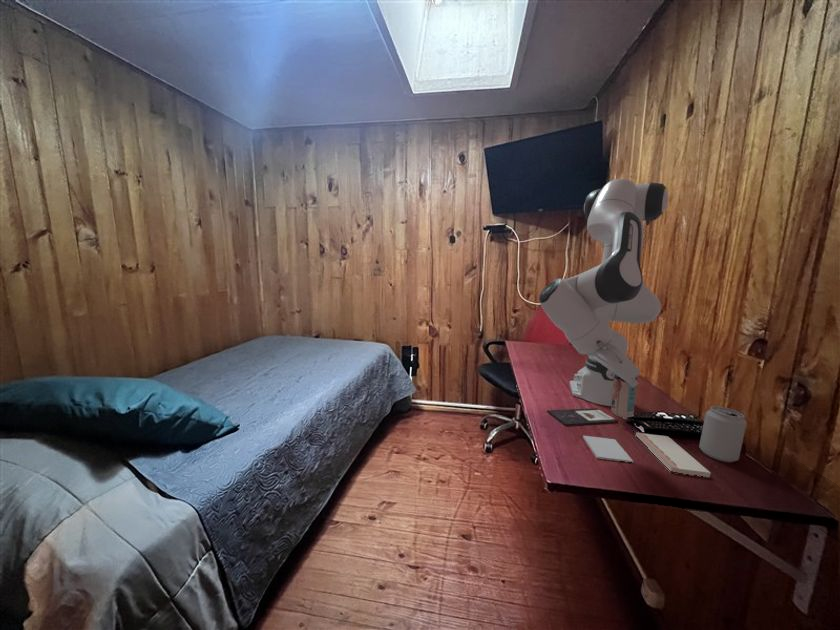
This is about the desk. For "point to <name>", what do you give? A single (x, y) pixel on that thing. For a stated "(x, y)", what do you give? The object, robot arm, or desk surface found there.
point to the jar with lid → (623, 398)
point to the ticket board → (672, 455)
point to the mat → (607, 449)
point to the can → (722, 434)
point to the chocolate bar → (581, 417)
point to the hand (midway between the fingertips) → (628, 380)
